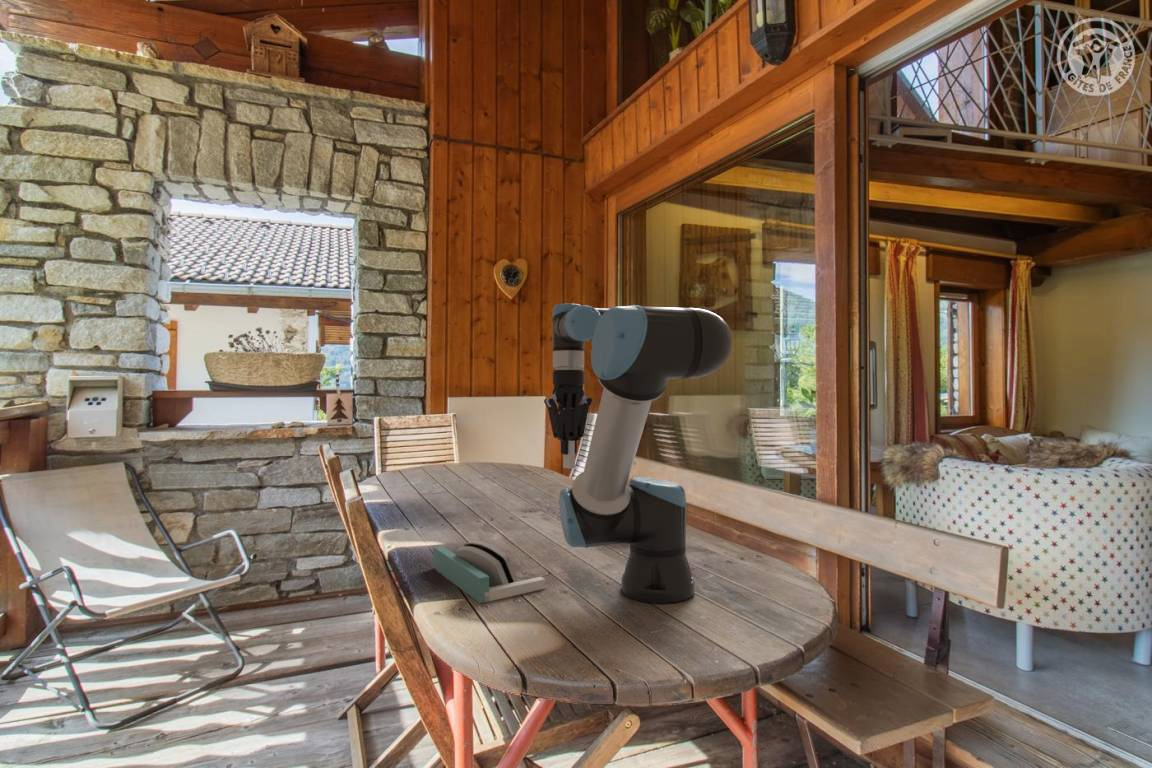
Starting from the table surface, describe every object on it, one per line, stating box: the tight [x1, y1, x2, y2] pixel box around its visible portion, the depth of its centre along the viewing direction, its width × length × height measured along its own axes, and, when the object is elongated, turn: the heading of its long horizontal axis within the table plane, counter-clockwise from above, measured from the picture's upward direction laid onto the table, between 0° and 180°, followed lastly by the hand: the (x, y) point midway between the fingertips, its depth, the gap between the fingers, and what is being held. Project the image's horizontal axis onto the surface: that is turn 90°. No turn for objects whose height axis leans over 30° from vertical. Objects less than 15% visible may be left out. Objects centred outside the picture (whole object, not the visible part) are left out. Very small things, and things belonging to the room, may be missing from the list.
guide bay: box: [432, 545, 546, 604], centre depth 133 cm, size 26×15×5 cm, turn 33°
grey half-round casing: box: [455, 540, 523, 587], centre depth 130 cm, size 17×5×10 cm, turn 45°
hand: (568, 467), depth 143 cm, fingers closed
